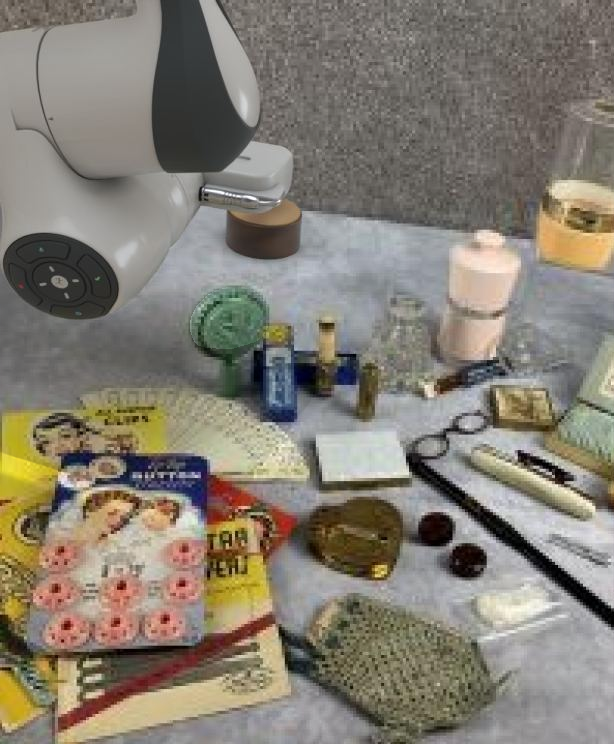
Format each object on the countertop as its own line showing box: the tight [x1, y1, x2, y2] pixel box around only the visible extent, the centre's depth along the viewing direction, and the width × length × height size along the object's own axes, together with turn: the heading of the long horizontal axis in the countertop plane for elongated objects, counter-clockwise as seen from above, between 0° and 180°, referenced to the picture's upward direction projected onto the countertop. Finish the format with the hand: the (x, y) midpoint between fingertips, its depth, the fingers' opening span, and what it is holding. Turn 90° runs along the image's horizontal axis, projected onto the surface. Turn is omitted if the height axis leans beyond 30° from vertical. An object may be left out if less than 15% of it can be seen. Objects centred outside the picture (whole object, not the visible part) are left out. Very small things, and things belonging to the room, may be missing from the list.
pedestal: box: [225, 198, 303, 260], centre depth 103 cm, size 8×8×4 cm
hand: (191, 128), depth 84 cm, fingers closed on pill bottle, 6 cm apart
